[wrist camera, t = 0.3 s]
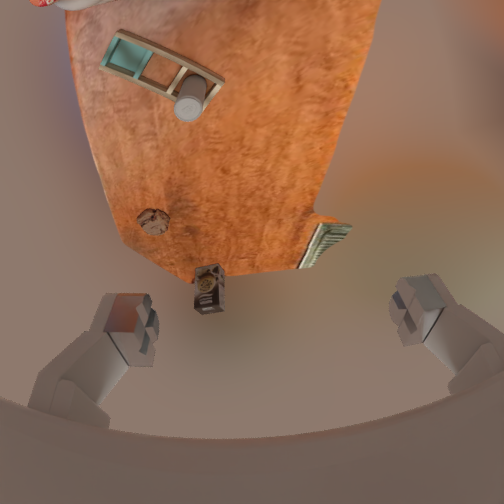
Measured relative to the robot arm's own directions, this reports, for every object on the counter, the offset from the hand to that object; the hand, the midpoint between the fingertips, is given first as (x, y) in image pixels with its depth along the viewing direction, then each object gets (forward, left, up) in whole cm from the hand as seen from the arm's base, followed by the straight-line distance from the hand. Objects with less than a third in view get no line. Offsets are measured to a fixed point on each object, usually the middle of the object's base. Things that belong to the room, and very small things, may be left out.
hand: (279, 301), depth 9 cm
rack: (+15, -6, -51) cm, 54 cm away
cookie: (+57, +12, -52) cm, 78 cm away
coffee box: (+72, +39, -51) cm, 97 cm away
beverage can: (+15, +1, -51) cm, 54 cm away
